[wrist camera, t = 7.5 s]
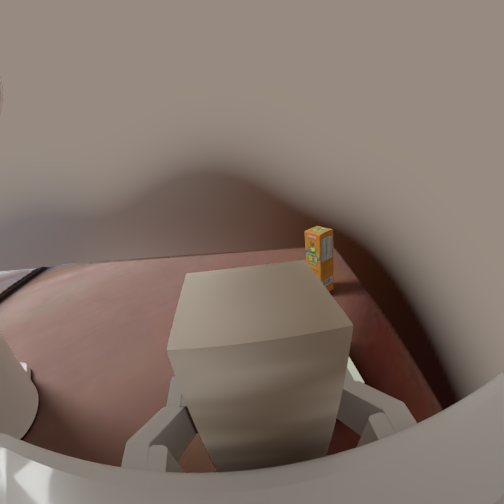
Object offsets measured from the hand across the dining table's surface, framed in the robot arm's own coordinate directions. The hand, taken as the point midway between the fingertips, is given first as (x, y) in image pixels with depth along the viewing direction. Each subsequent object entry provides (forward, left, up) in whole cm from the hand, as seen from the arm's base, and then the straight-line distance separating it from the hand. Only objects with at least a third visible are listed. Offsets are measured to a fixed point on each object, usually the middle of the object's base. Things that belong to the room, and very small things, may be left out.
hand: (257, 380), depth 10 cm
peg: (0, -2, -7) cm, 7 cm away
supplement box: (+12, +29, -13) cm, 34 cm away
